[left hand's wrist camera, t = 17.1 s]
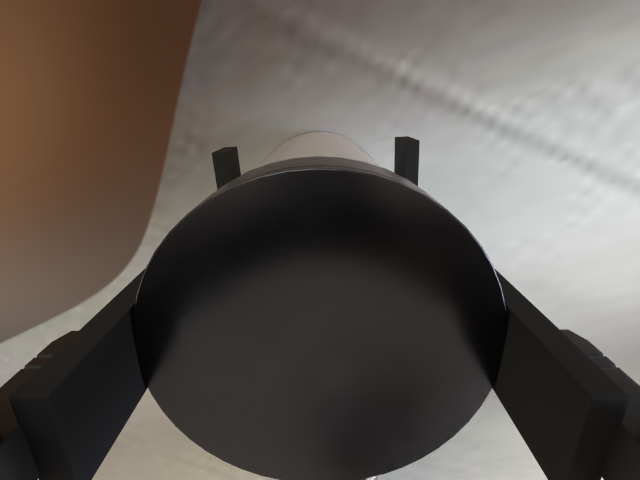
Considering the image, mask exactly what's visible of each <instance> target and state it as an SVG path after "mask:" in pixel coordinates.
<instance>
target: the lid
mask: <svg viewBox="0 0 640 480" xmlns="http://www.w3.org/2000/svg"><path fill="white" fill-rule="evenodd" d="M506 334H507V322H506V307H505V302H504V297H503V292H502V288H501V285H500V282H499V280H498V277H497V274H496V272H495V269H494V267H493V265H492V263H491V261H490V260H489V258H488V256H487V254H486V253H485V251H484V249H483V248H482V246H481V245H480V243H479V242H478V241H477V240H476V238H475V237H474V236H473V235H472V234H471V232H470V231H469V230H468V229H467V227H466V226H465V225H463V224H462V223H461V222H460V221H459V220H458V219H457V218H456V217H455V216H454V215H452V214H451V213H450V212H449V211H448V210H447V209H446V208H444V207H443V206H442V205H441V204H440V203H438V202H437V201H436V200H435V199H434V198H432V197H431V196H430V195H429V194H428V193H426V192H425V191H424V190H422V189H421V188H419V187H418V186H416V185H415V184H413V183H412V182H410V181H409V180H407V179H406V178H404V177H402V176H399V175H397V174H395V173H393V172H391V171H389V170H387V169H385V168H382V167H379V166H376V165H372V164H369V163H366V162H363V161H357V160H352V159H347V158H341V157H322V156H314V157H302V158H292V159H287V160H283V161H278V162H274V163H270V164H267V165H264V166H262V167H259V168H256V169H253V170H251V171H248V172H246V173H244V174H242V175H241V176H239V177H237V178H235V179H233V180H231V181H229V182H228V183H226V184H225V185H224V186H222V187H221V188H220V189H218V190H217V191H215V192H214V193H213V194H211V195H210V196H209V197H208V198H206V199H205V200H204V201H203V202H202V203H200V204H199V205H198V206H197V207H196V208H194V209H193V210H192V211H191V212H189V213H188V214H187V215H186V216H185V217H184V218H183V219H182V220H181V221H180V222H179V223H178V224H177V225H176V226H175V227H174V228H173V229H172V230H171V231H170V232H169V233H168V234H167V236H166V237H165V239H164V240H163V241H162V243H161V244H160V245H159V247H158V248H157V249H156V251H155V252H154V254H153V256H152V258H151V260H150V262H149V264H148V266H147V267H146V269H145V271H144V274H143V277H142V280H141V283H140V286H139V289H138V292H137V296H136V302H135V308H134V315H133V337H134V342H135V347H136V352H137V357H138V362H139V366H140V369H141V372H142V376H143V378H144V380H145V382H146V384H147V386H148V388H149V390H150V392H151V394H152V396H153V397H154V399H155V400H156V402H157V403H158V405H159V406H160V408H161V409H162V411H163V412H164V413H165V414H166V416H167V417H168V418H169V419H170V420H171V421H172V423H173V424H174V425H175V426H176V427H177V428H178V429H179V430H180V431H182V432H183V433H184V434H185V435H186V436H187V437H188V438H189V439H190V440H192V441H193V442H194V443H196V444H197V445H199V446H200V447H201V448H203V449H204V450H206V451H207V452H209V453H211V454H212V455H214V456H216V457H218V458H219V459H221V460H223V461H225V462H227V463H229V464H231V465H234V466H236V467H238V468H241V469H243V470H246V471H249V472H252V473H255V474H258V475H261V476H265V477H270V478H274V479H279V480H361V479H366V478H370V477H374V476H378V475H382V474H385V473H388V472H391V471H394V470H396V469H399V468H402V467H404V466H406V465H408V464H411V463H413V462H415V461H417V460H419V459H421V458H423V457H424V456H426V455H428V454H429V453H431V452H432V451H434V450H436V449H437V448H439V447H440V446H441V445H443V444H444V443H445V442H447V441H448V440H449V439H450V438H452V437H453V436H454V435H455V434H456V433H457V432H458V431H459V430H460V429H461V428H463V427H464V426H465V425H466V424H467V423H468V422H469V420H470V419H471V418H472V417H473V415H474V414H475V413H476V412H477V410H478V409H479V408H480V407H481V405H482V404H483V402H484V400H485V399H486V397H487V395H488V394H489V392H490V390H491V389H492V386H493V384H494V382H495V379H496V377H497V375H498V372H499V369H500V365H501V360H502V356H503V351H504V346H505V341H506Z"/></svg>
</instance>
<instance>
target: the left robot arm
mask: <svg viewBox="0 0 640 480" xmlns="http://www.w3.org/2000/svg"><path fill="white" fill-rule="evenodd" d="M145 269H146V268H145ZM145 269H144V270H143V271H142V272H141V273H140V274H139V275H138V276H137V277H136V278H135V279H134V280H133V281H132V282H130V283H129V284H128V285H127V286H126V287H125V288H124V289H123V290H122V291H121V292H120V293H119V294H118V295H117V296H116V297H115V298H113V299H112V300H111V301H110V302H109V303H108V304H107V305H106V306H105V307H104V308H103V309H102V310H101V311H100V312H99V313H97V314H96V315H95V316H94V317H93V318H92V319H91V320H90V321H89V322H88V323H87V324H86V325H85V326H84V327H83V328H82V329H80V330H79V331H71V332H69V333H67V334H65V335H64V336H62V337H60V338H58V339H57V340H55V341H53V342H51V343H50V344H49V345H48V346H47V347H46V348H45V349H44V350H42V351H41V352H40V353H39V354H38V355H37V358H33V359H32V360H31V361H30V362H29V363H28V364H27V365H25V368H24V369H21V370H20V371H19V372H18V373H16V374H15V375H14V376H13V377H12V378H11V379H10V380H9V381H7V382H6V383H5V384H4V385H3V386H2V387H1V388H0V480H37V479H38V478H39V480H92V478H93V476H94V475H95V473H96V471H97V470H98V468H99V467H100V465H101V463H102V462H103V460H104V458H105V457H106V455H107V453H108V452H109V450H110V448H111V447H112V445H113V444H114V442H115V440H116V439H117V437H118V435H119V434H120V432H121V430H122V429H123V427H124V425H125V424H126V422H127V421H128V419H129V417H130V416H131V414H132V412H133V411H134V409H135V407H136V406H137V404H138V402H139V401H140V399H141V398H142V396H143V394H144V393H145V391H146V389H147V388H148V386H147V384H146V382H145V380H144V378H143V376H142V372H141V369H140V366H139V362H138V357H137V352H136V347H135V342H134V337H133V315H134V308H135V302H136V296H137V292H138V289H139V286H140V283H141V280H142V277H143V274H144V271H145ZM495 272H496V274H497V277H498V280H499V282H500V285H501V288H502V292H503V297H504V302H505V307H506V322H507V334H506V341H505V346H504V351H503V356H502V360H501V365H500V369H499V372H498V375H497V377H496V379H495V382H494V384H493V386H492V388H493V390H494V391H495V393H496V395H497V396H498V398H499V400H500V401H501V403H502V404H503V406H504V408H505V409H506V411H507V413H508V414H509V416H510V418H511V419H512V421H513V423H514V424H515V426H516V427H517V429H518V431H519V432H520V434H521V436H522V437H523V439H524V441H525V442H526V444H527V446H528V447H529V449H530V450H531V452H532V454H533V455H534V457H535V459H536V460H537V462H538V464H539V465H540V467H541V469H542V470H543V472H544V473H545V475H546V477H547V478H548V480H601V477H603V479H604V480H640V386H639V385H638V384H637V383H636V382H634V381H633V380H632V379H631V378H630V377H629V376H628V375H627V374H625V373H624V372H623V371H622V370H621V369H620V368H616V366H615V364H614V363H613V362H612V361H611V360H609V359H608V358H607V357H606V356H603V353H602V352H600V351H599V350H598V349H597V348H596V347H595V346H594V345H592V344H591V343H590V342H589V341H588V340H586V339H584V338H582V337H581V336H579V335H577V334H575V333H573V332H572V331H570V330H559V329H558V328H557V327H556V326H555V325H554V324H553V323H552V322H551V321H550V320H549V319H548V318H547V317H545V316H544V315H543V314H542V313H541V312H540V311H539V310H538V309H537V308H536V307H535V306H534V305H533V304H532V303H531V302H529V301H528V300H527V299H526V298H525V297H524V296H523V295H522V294H521V293H520V292H519V291H518V290H517V289H516V288H515V287H514V286H512V285H511V284H510V283H509V282H508V281H507V280H506V279H505V278H504V277H503V276H502V275H501V274H500V273H499V272H498V271H496V270H495Z"/></svg>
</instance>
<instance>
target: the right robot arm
mask: <svg viewBox="0 0 640 480" xmlns="http://www.w3.org/2000/svg"><path fill="white" fill-rule="evenodd" d="M212 157H213V164H214V170H215V176H216V183H217V189H220V188H221V187H222V186H224V185H225V184H226V183H228V182H229V181H231V180H233V179H235V178H237V177H239V176H241V173H240V166H239V159H238V151H237V147H224V148H222V149H220V150H218V151H215V152H213V153H212ZM418 166H419V140H416V139H413V138H411V137H408V136H407V137H395V172H394V173H395V174H397V175H399V176H402V177H404V178H406V179H407V180H409V181H410V182H412V183H413V184H415V185H416V186H418ZM361 480H383V474H382V475H378V476H374V477H370V478H366V479H361Z"/></svg>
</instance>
